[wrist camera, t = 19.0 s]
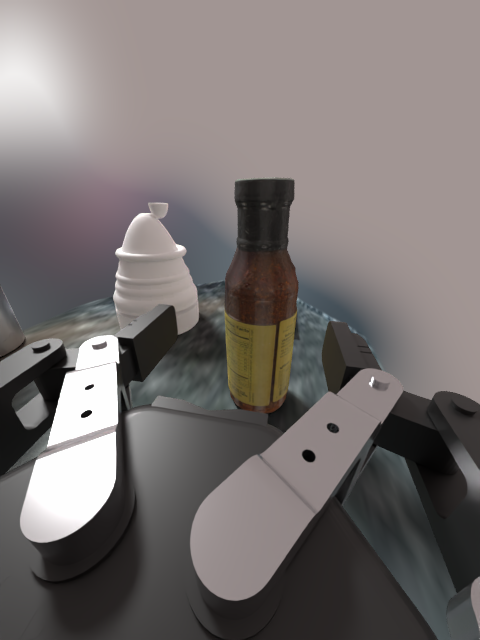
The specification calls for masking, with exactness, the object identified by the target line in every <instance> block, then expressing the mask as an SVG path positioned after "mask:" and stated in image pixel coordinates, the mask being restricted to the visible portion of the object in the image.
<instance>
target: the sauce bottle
mask: <svg viewBox="0 0 480 640" xmlns="http://www.w3.org/2000/svg"><path fill="white" fill-rule="evenodd" d="M293 200H294V180H293V179H290V178H253V179H252V178H251V179H238V180H236V181H235V202H236V205H237V208H238V237H237V249H236V252H235V255H234V258H233V260H232V263H231V265H230V267H229V269H228V271H227V273H226V278H225V327H226V350H227V366H228V384H229V389H230V395H231V398H232V399H233V401H234V402H235V403H236V405H237V406H239V407H240V408H241V409H243V410H247V411H253V412H259V413H265V414H266V413H272V412H274V411H276V410H277V409H278V408H280V407H281V405H282V404H283V402H284V400H285V399H286V394H287V390H288V385H289V377H290V368H291V360H292V350H293V341H294V332H295V323H296V315H297V307H296V300H297V293H298V280H297V277H296V273H295V267H294V265H293V263H292V262H291V259H290V256H289V254H288V251H287V246H288V237H287V236H288V222H289V211H290V205H291V204H292V201H293Z"/></svg>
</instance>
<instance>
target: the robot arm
mask: <svg viewBox="0 0 480 640" xmlns="http://www.w3.org/2000/svg"><path fill="white" fill-rule="evenodd" d="M177 336H178V328H177V320H176V312H175V308H174V306H173V305H164V304H158V305H157V306H156V307H154V308H153V309H152V310H150V311H149V312H147V313H145V314H143V315H140V316H139V317H137V318H136V319H135V320H134V321H132V322H131V323H130V324H129V325H127V326H126V327H124V328H123V329H122V330H120V331H119V332H118V333H116V334H115V335H114V336H99V337H95V338H92V339H90V340H88V341H86V342H85V343H83V344H82V345H81V347H80V348H76V349H65V347H64V345H63V342H62V340H60V339H45V340H41V341H37V342H34V343H32V344H30V345H28V346H26V347H24V348H22V349H21V350H19V351H17V352H16V353H14V354H12V355H10V356H9V357H7V358H5V359H4V360H2V361H0V640H438V639H437V637H436V636H435V634H434V632H433V631H432V629H431V628H430V626H429V625H428V623H427V622H426V620H425V619H424V618H423V616H422V615H421V613H420V612H419V611H418V609H417V608H416V607H415V605H414V604H413V602H412V601H411V600H410V598H409V597H408V596H407V594H406V593H405V591H404V590H403V589H402V587H401V586H400V585H399V583H398V582H397V581H396V579H395V578H394V576H393V575H392V574H391V572H390V571H389V570H388V568H387V567H386V565H385V564H384V563H383V561H382V560H381V559H380V557H379V556H378V555H377V553H376V552H375V550H374V549H373V548H372V546H371V545H370V544H369V542H368V541H367V539H366V538H365V537H364V535H363V534H362V533H361V531H360V530H359V528H358V527H357V526H356V524H355V523H354V522H353V520H352V519H351V518H350V516H349V515H348V513H347V512H346V511H345V509H344V508H343V505H344V504H345V502H346V500H347V498H348V496H349V495H350V493H351V491H352V489H353V487H354V485H355V483H356V481H357V480H358V478H359V476H360V475H361V473H362V472H363V470H364V468H365V467H366V465H367V463H368V462H369V460H370V459H371V457H372V455H373V454H374V452H375V450H376V449H377V447H378V446H379V447H382V448H384V449H386V450H389V451H391V452H393V453H395V454H398V455H400V456H402V457H405V460H406V463H407V465H408V468H409V471H410V473H411V476H412V478H413V481H414V483H415V486H416V489H417V491H418V494H419V496H420V499H421V502H422V504H423V507H424V509H425V512H426V514H427V517H428V520H429V522H430V525H431V527H432V530H433V532H434V535H435V538H436V540H437V543H438V545H439V548H440V551H441V553H442V556H443V558H444V561H445V563H446V566H447V569H448V571H449V574H450V576H451V579H452V581H453V584H454V587H455V589H456V592H457V594H456V595H455V596H453V597H452V598H451V599H450V600H449V602H448V605H447V612H446V616H447V624H448V628H449V632H450V637H451V640H480V405H479V404H478V403H476V402H475V401H473V400H471V399H470V398H467V397H465V396H462V395H460V394H457V393H453V392H447V391H441V392H437V393H436V394H435V395H434V397H433V398H432V400H429V399H426V398H423V397H420V396H417V395H414V394H411V393H408V392H406V391H403V386H402V384H401V383H400V382H399V380H398V379H396V378H395V377H394V376H392V375H391V374H389V373H387V372H384V371H382V370H381V368H380V366H379V365H378V363H377V361H376V359H375V357H374V356H373V354H372V352H371V350H370V348H369V346H368V345H367V343H366V341H365V340H364V339H363V338H362V337H361V336H359V335H358V334H355V333H351V331H350V329H349V327H348V325H347V323H345V322H335V321H329V323H328V326H327V330H326V335H325V340H324V344H323V349H322V362H323V367H324V372H325V377H326V382H327V386H328V391H329V392H328V393H327V394H325V395H324V396H323V397H322V398H321V399H320V400H319V401H318V402H317V403H316V404H315V405H314V406H313V407H312V408H311V409H309V410H308V411H307V412H306V413H305V414H304V415H303V416H302V417H301V418H300V419H299V420H298V421H297V422H296V423H295V424H294V425H292V426H291V427H290V428H289V429H288V430H287V431H286V432H285V433H284V432H282V431H281V430H280V429H278V428H276V427H274V426H272V425H270V424H268V423H267V421H268V414H265V413H259V412H253V411H247V410H241V409H233V410H206V409H203V408H201V407H199V406H196V405H194V404H192V403H189V402H187V401H185V400H181V399H175V398H169V397H163V396H157V398H156V399H155V401H154V402H153V404H148V405H142V406H138V407H134V408H133V407H132V397H131V388H130V385H129V383H130V382H131V381H132V380H133V381H140V382H143V381H144V380H145V378H146V377H147V376H148V375H149V374H150V372H151V371H152V370H153V369H154V367H155V366H156V365H157V364H158V363H159V361H160V360H161V359H162V358H163V356H164V355H165V354H166V353H167V352H168V350H169V349H170V348H171V347H172V345H173V344H174V343H175V342H176V340H177ZM24 339H25V336H24V333H23V331H22V329H21V327H20V325H19V323H18V321H17V319H16V317H15V315H14V313H13V310H12V308H11V306H10V304H9V302H8V300H7V298H6V296H5V294H4V292H3V290H2V288H1V286H0V357H1V356H3V355H5V354H8V353H9V352H11V351H13V350H14V349H16V348H17V347H18V346H20V345H21V344H22V343H23V342H24ZM33 380H34V382H35V384H36V386H37V388H38V390H39V392H40V393H39V394H38V395H37V396H36V397H35V398H33V399H32V400H31V401H30V402H28V403H27V404H26V405H25V406H24V407H22V408H21V409H20V410H19V411H17V412H15V411H14V409H13V408H12V399H13V397H14V396H15V394H16V393H17V392H19V391H20V390H21V389H23V388H24V387H25V386H27V385H28V384H29V383H31V382H32V381H33ZM52 425H53V427H52V430H51V434H50V438H49V442H48V446H47V448H46V450H45V451H43V452H42V453H41V454H40V455H39V456H38V457H36V458H34V459H32V460H30V461H28V462H27V463H25V464H23V465H21V466H19V467H17V468H15V469H13V470H11V471H9V472H8V473H6V472H7V471H8V470H9V469H10V468H11V467H12V466H13V465H14V464H15V463H16V462H17V461H18V460H19V458H20V457H21V456H22V455H23V454H24V453H25V452H26V451H27V450H28V449H29V448H30V447H31V446H32V445H33V444H34V443H35V442H36V441H37V440H38V439H39V438H40V437H41V436H42V435H43V434H44V433H45V432H46V431H47V430H48V429H49V428H50V427H51V426H52ZM5 473H6V474H5Z"/></svg>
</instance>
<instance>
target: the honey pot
mask: <svg viewBox="0 0 480 640" xmlns="http://www.w3.org/2000/svg"><path fill="white" fill-rule="evenodd" d="M149 208H150V210H151V212H152V213H141V214H140V215H138V216H137V217H135V219H134V220H133V221H132V223H131V224H130V226H129V228H128V231H127V233H126V236H125V239H124V242H123V246H122V247H121V248H119V249H117V251H116V253H115V255H116V256H117V257H118V258H119V259H120V260H119V267H118V271H117V273H116V278H117V281H116V284H115V288H116V290H115V292H114V295H113V300H114V302H115V307H116V312H117V316H118V320H119V324H120V328H121V330H122V329H123V328H124V327H126V326H127V325H129V324H130V323H131V322H132V321H134V320H135V319H136V318H137V317H139V316H140V315H143V314H145V313H147V312H149V311H150V310H152V309H153V308H154V307H156V306H157V305H158V304H164V305H173V306H174V308H175V312H176V320H177V328H178V335H179V334H182V333H184V332H186V331H188V330H190V329H191V328H192V327H194V326H195V325H196V324H197V322H198V320H199V309H198V299H197V297H198V296H197V289H196V286H195V285H194V283H193V282H192V277H191V276H190V275H189V269H188V268H187V266H186V265H185V263H184V261H183V258H182V256H184V255H185V253H186V249H185V248H184V247H183V246H181V245H176V244H175V242H174V241H173V239H172V237H171V236H170V234H169V233H168V231H167V230H166V228H165V227H164V226H163V225H162V223H160V221H159V220H158V218H163V217H164V216H165V215H166V214H167V211H168V203H149Z"/></svg>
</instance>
